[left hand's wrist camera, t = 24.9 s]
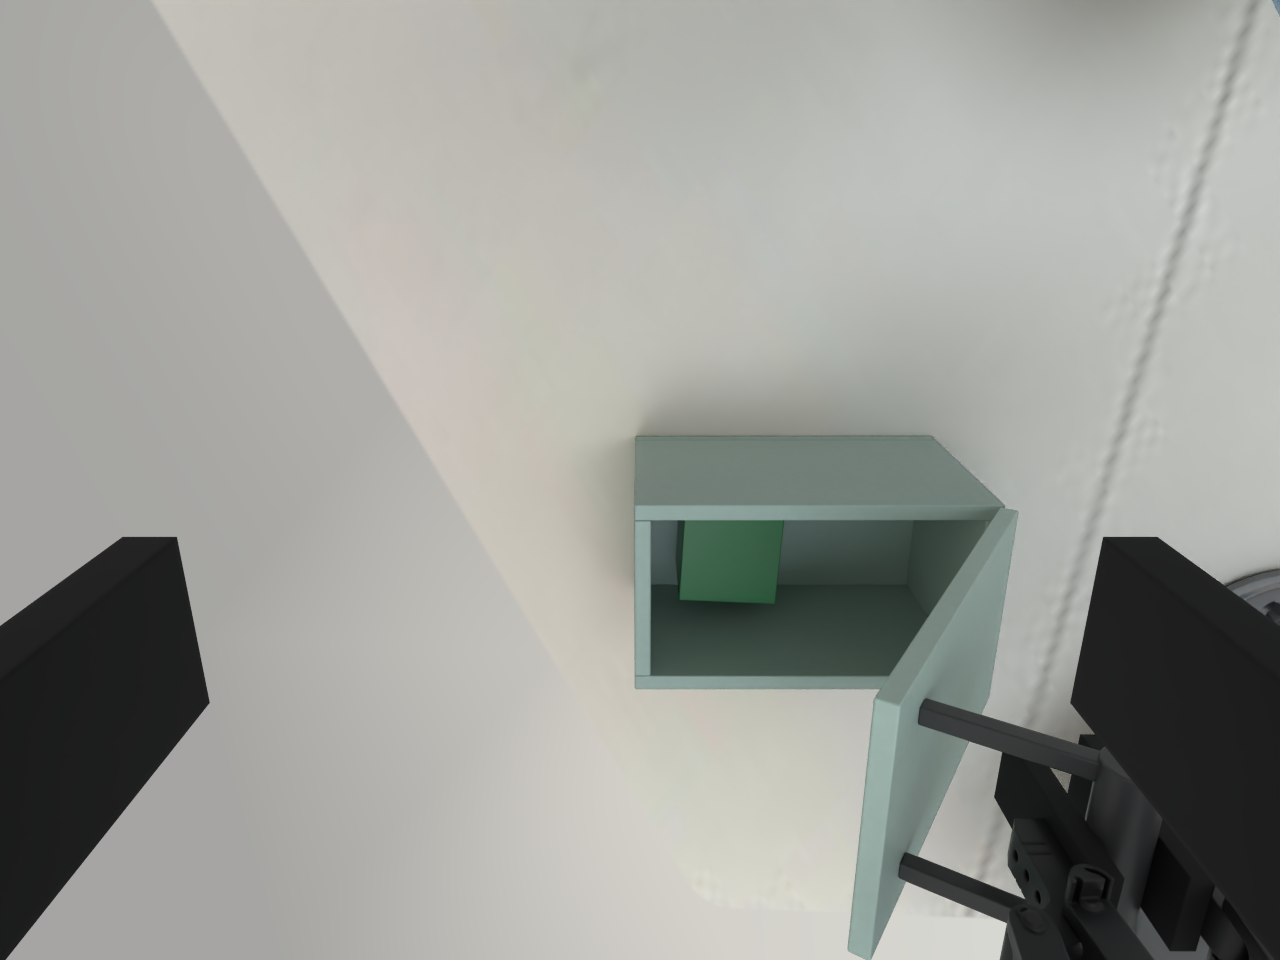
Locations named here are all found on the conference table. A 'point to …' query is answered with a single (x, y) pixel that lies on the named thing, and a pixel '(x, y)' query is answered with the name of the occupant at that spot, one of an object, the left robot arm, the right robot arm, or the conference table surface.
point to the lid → (936, 740)
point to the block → (728, 560)
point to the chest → (801, 555)
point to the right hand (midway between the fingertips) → (1047, 767)
